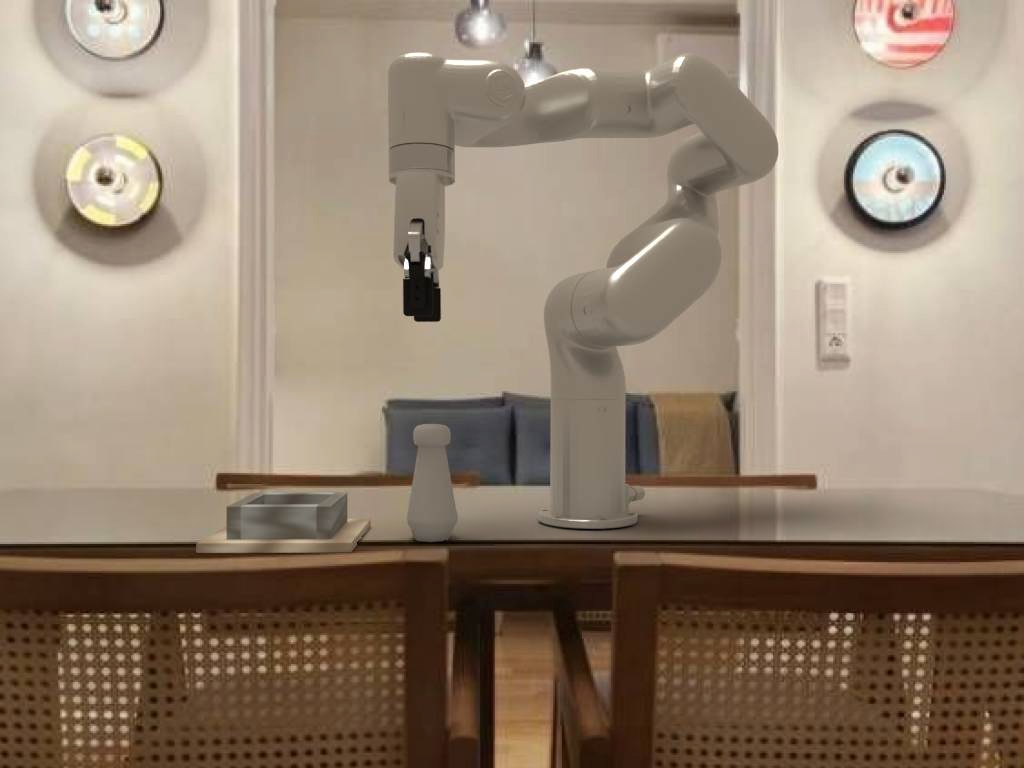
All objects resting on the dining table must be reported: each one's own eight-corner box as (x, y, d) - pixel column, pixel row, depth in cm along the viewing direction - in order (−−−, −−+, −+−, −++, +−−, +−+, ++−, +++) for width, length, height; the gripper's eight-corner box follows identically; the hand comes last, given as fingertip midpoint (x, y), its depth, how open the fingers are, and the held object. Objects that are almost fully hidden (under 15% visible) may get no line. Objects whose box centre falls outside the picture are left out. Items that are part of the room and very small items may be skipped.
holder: (370, 526, 103) (370, 490, 102) (351, 552, 88) (351, 509, 87) (238, 527, 102) (238, 490, 102) (196, 552, 87) (196, 509, 87)
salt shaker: (461, 534, 98) (461, 423, 98) (453, 544, 92) (453, 425, 92) (412, 533, 98) (412, 422, 98) (401, 542, 93) (401, 425, 93)
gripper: (399, 185, 104) (400, 323, 104) (376, 148, 87) (378, 313, 87) (459, 185, 104) (460, 323, 104) (449, 147, 87) (450, 313, 87)
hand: (423, 318), depth 96 cm, fingers open, 9 cm apart
